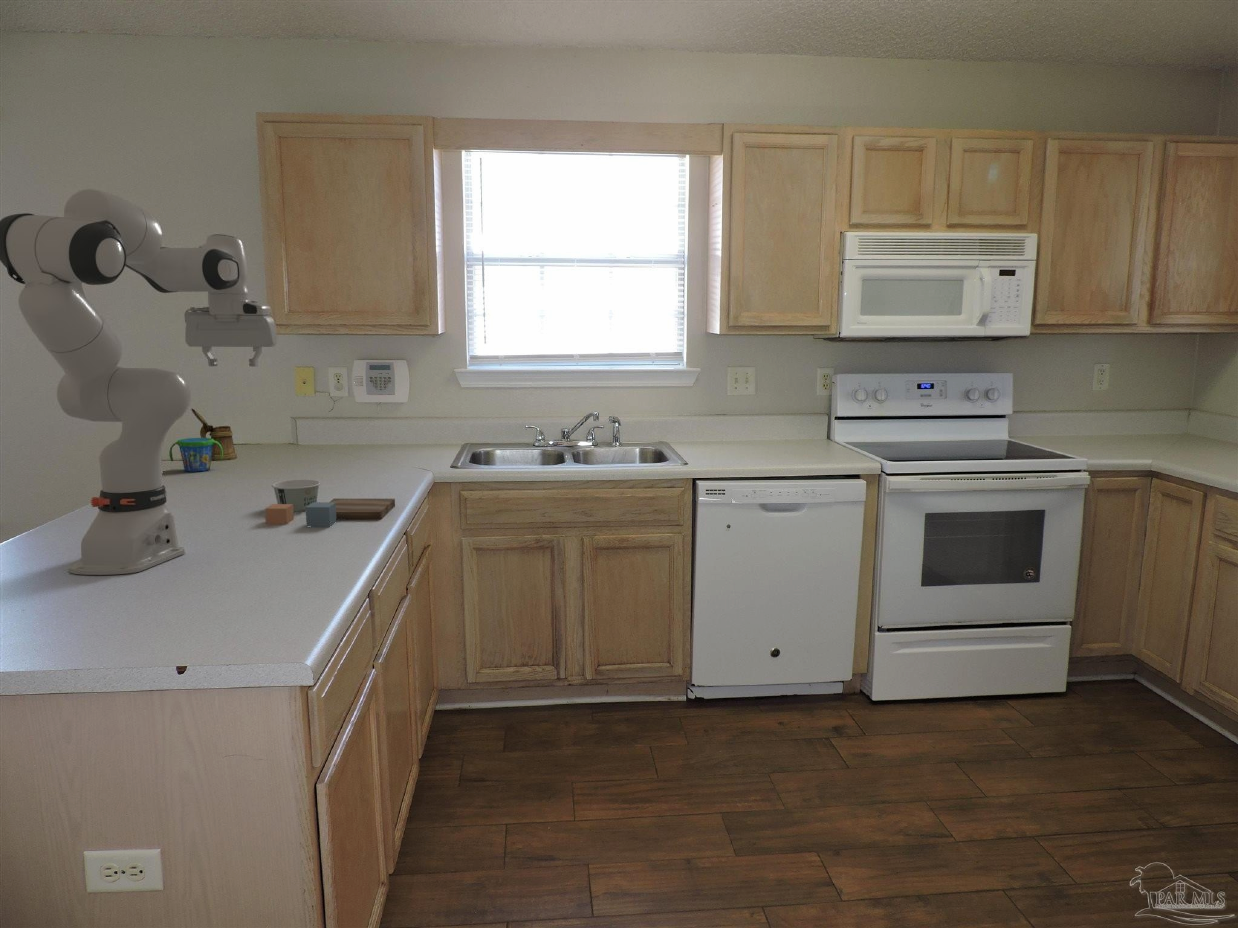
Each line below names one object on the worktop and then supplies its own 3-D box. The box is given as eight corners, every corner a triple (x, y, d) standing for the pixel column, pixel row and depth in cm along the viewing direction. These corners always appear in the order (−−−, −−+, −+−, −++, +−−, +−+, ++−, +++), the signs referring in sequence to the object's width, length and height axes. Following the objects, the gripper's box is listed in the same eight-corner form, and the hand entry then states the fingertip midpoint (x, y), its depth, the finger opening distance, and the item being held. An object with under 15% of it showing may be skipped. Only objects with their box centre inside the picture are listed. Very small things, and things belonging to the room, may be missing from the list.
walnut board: (380, 519, 216) (380, 511, 216) (315, 519, 216) (315, 511, 215) (395, 505, 232) (394, 498, 232) (334, 505, 231) (334, 498, 231)
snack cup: (226, 467, 290) (224, 436, 288) (220, 472, 279) (218, 441, 278) (175, 468, 286) (173, 437, 284) (167, 474, 276) (164, 442, 274)
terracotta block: (287, 524, 211) (286, 508, 210) (266, 524, 211) (265, 508, 210) (293, 519, 216) (293, 504, 215) (273, 519, 216) (272, 504, 215)
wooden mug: (196, 457, 308) (192, 407, 305) (237, 456, 312) (234, 406, 309) (193, 461, 299) (189, 409, 296) (236, 459, 304) (233, 408, 301)
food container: (305, 513, 222) (304, 488, 221) (263, 511, 224) (262, 486, 223) (330, 504, 234) (329, 480, 233) (289, 502, 236) (288, 478, 235)
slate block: (330, 527, 208) (329, 507, 207) (306, 527, 208) (305, 507, 207) (336, 522, 214) (335, 502, 213) (313, 522, 213) (312, 502, 213)
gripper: (177, 306, 200) (182, 367, 203) (268, 307, 201) (272, 367, 204) (189, 307, 207) (194, 365, 209) (277, 307, 208) (281, 365, 210)
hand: (233, 366), depth 206 cm, fingers open, 8 cm apart
